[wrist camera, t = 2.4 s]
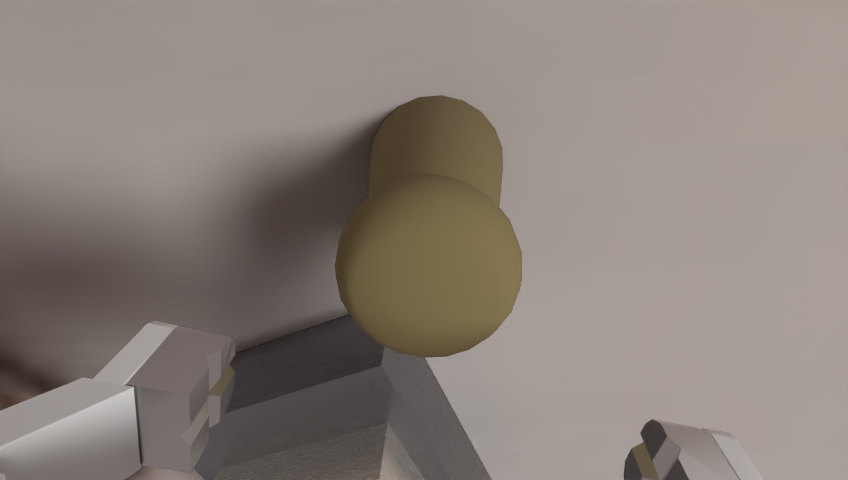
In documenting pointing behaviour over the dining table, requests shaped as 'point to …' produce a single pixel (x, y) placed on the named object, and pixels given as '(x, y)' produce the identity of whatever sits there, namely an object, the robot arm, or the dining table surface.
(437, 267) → the cork
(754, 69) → the dining table surface
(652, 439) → the robot arm
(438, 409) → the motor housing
